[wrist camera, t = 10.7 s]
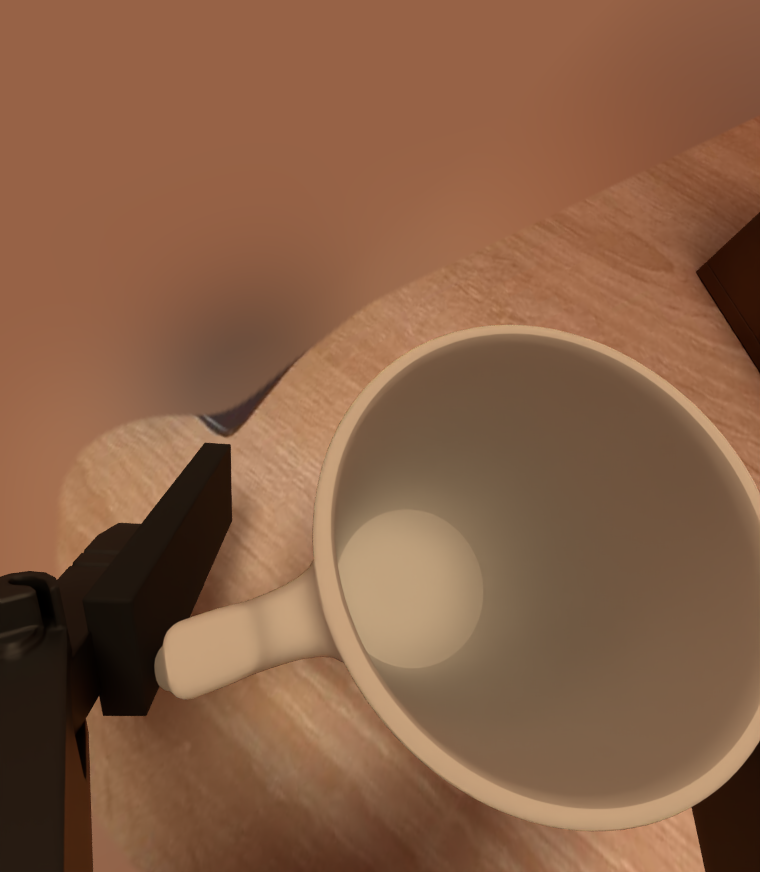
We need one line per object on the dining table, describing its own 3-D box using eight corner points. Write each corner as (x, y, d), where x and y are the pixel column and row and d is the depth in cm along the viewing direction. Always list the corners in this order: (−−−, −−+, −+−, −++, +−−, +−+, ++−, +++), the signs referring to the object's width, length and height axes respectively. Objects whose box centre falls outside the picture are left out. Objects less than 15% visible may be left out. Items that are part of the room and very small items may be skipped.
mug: (450, 483, 19) (631, 293, 8) (515, 644, 17) (897, 690, 6) (214, 554, 16) (3, 424, 5) (252, 754, 14) (21, 1208, 3)
